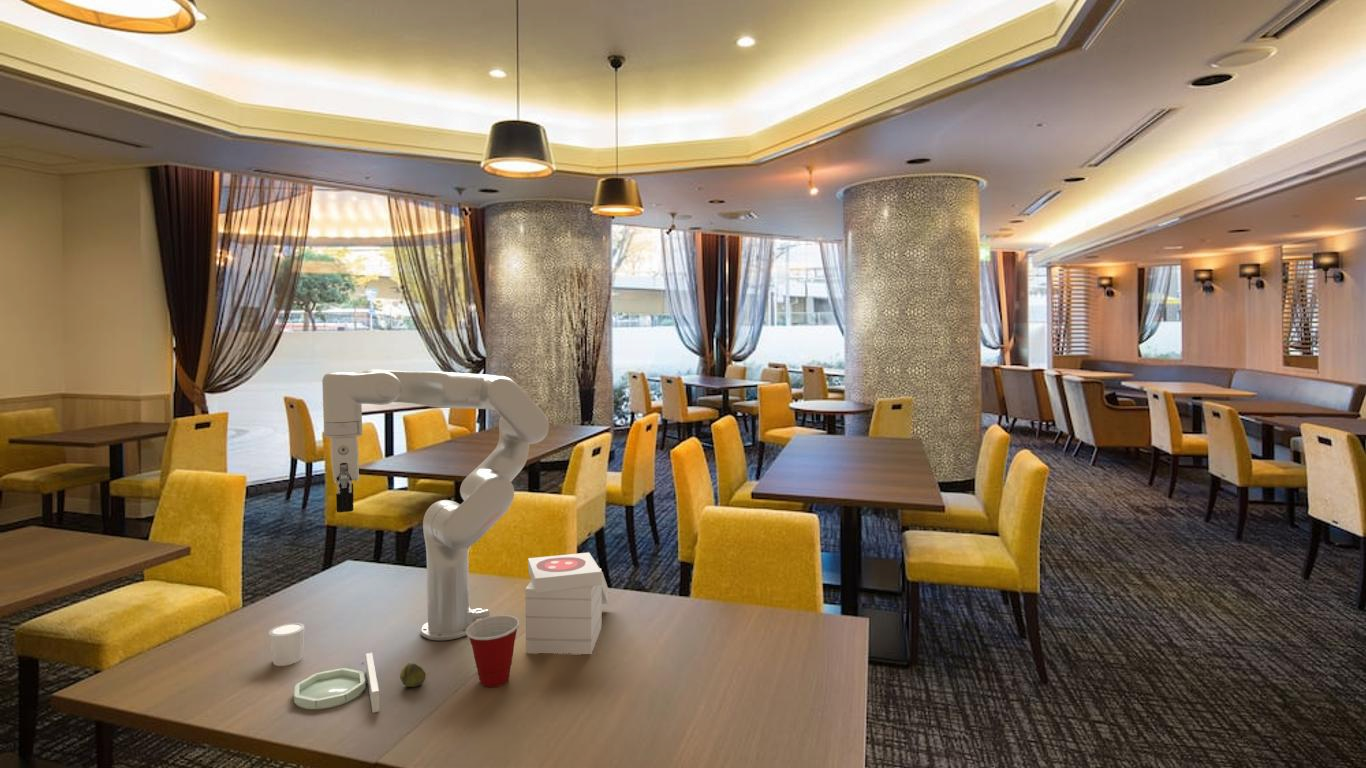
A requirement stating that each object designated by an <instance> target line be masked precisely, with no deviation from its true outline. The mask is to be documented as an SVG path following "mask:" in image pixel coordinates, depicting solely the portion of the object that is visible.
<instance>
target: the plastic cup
mask: <svg viewBox="0 0 1366 768" xmlns="http://www.w3.org/2000/svg"><path fill="white" fill-rule="evenodd" d="M519 626H520V620H519V618H517V617H516V616H513V615H509V614H508V615H506V614H505V615H504V614H498V615H493V616H492V615H491V616H490V615H489V617H486V618H483V619H477V620H476V622H474V623H472V624H471V625H469V626H468V627H467V628H466V632H465V633H466V636H467V637H468V639H469V641H470V644H471V647H472V653H473V657H474V662H475V665H476V666H475V667H476V669H477V675H478V678H479V679H478V680H479V682H480V684H481V686H484V687H485V688H486V687H487V688H496V687H500V686H503V685H504V684H506V683H507V682H508V681H509V678H510V673H511V668H512V664H513V656H514V649H515V641H516V636H517V631H518V629H519Z"/></svg>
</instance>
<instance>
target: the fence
mask: <svg viewBox="0 0 1366 768" xmlns="http://www.w3.org/2000/svg"><path fill="white" fill-rule="evenodd" d="M365 669H366V670H365V672H366V673H365V674H366V679H367V680H366V681H367V685H368V691H369V698H370V705H371V711H372V714H373V713H377V712H380V690H379V683H378V677H377V673H376V668H375V661H374V656H373V652H368V653H365Z"/></svg>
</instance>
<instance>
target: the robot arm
mask: <svg viewBox="0 0 1366 768" xmlns="http://www.w3.org/2000/svg"><path fill="white" fill-rule="evenodd" d="M321 381H322V409H323V413H322V414H323V415H322V416H323V437H324V438H327V439H330V441H329V442H330V461H331V469H332V470H331V471H332V477H333V478H332V479H333V482H334V483H335V484H337V486H336V487H337V488H336V490H337V491H336V492H337V493H336V494H335V496H336V500H335V502H336V512H337V513H349V512H353V511H354V498H355V497H354V483H353V481H355V483H357V482H359V481H360V473H359V471H360V469H359V468H360V467H359V463H360V462H359V461H360V459H359V442H358V441H359V440H358V437H361V436H362V435H363V417H362V416H363V412H362V411H363V410H362V408H363V407H362V406H363V404H364V405H377V406H382V405H383V406H384V405H389V404H392V403H405V404H416V405H422V406H425V407H430V408H440V409H472V410H473V409H477V410H492V411H495V412H496V413H497V414H498V416H500V417H499V422H498V429H499V431H498V432H499V436H498V437H499V439H498V442H497V445H496V447H495V448H494V449H493V450H492V452H491V453H489V455H488V456H487V457H486V458H485V459H484V460H483V461H482V462H481V463H480V464H479V465H478V466H477V467H476V468H474V470H472V471H471V472H470V473H469V474H468V475H467V476H466V477H465V478H464V479H463V480H462V482H461V484H460V488H459V493H460V497H461V499H462V500H463V501H462V502H461V503H458V502H457V501H454V500H450V499H449V500H448V499H443V500H442V499H441V500H438V501H436V502H434V503H432V504H431V505H430V506H429V507H428V508H427V510H426V511H425V514H424V516H423V521H422V528H423V538H424V543H425V553H426V556H425V557H426V588H427V589H426V590H427V591H426V596H427V599H426V600H427V621H426V622H425V623H424V624H422V626H421V629H420V632H421V633H420V634H421V636H422V637H424V638H425V639H428V640H431V641H450V640H457V639H460V638H463V637H465V636H467V635H466V633H465V632H466V628H467V627H468V626H469V625H471V624H472V623H474V622H476V621H477V620H480V619H483V618H486V617H490V611H489V609H482V607H479V608H475V609H472V608H471V607H470V593H469V592H470V590H469V589H470V588H469V586H470V585H469V583H470V581H469V579H470V578H469V551H468V548H470V547H472V546H473V545H475V544H476V543H477V542H478V541H480V540H481V538H482V537H484V536H485V534H486V533H487V532H488V531H489V530H490V529H491V528H492V527H493V526H494V525H495V524H496V523H497V522H499V520H500V519H501V518H502V517H503V516H504V515H505V514H506V513H507V512H508V510H509V509H510V507H511V506H512V504H513V501H514V499H515V498H514V497H515V488H514V485H513V483H512V482H513V480H514V479H515V478H516V477H517V476H518V474H520V472H521V471H522V470H523V468H524V467H525V466H526V463H527V461H528V457H529V453H530V445H532V444H535V445H536V444H538V443H540V442H542V441H543V440H544V439H545V438H546V437H547V436H548V433H549V430H550V423H549V419H548V417H547V416H546V414H545V412H544V411H543V410H542V409H541V408H540V407H539V406H538V405H537V403H535V401H534V400H532V398H531V397H530V396H529V395H528V394H527V393H526V392H525V390H524V389H523V388H522V387H521V386H520V385H518V383H517V382H516V381H515V380H513V379H512V378H510V377H508V376H504V375H497V374H496V375H495V374H484V373H483V374H480V373H468V372H467V373H465V372H464V373H463V372H451V371H450V372H449V371H403V370H402V371H401V370H388V369H387V370H385V369H367V370H363V371H362V372H361V373H356V372H351V371H347V372H346V371H345V372H344V371H336V372H335V371H334V372H328V373H325V374H324V376H322V380H321Z"/></svg>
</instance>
